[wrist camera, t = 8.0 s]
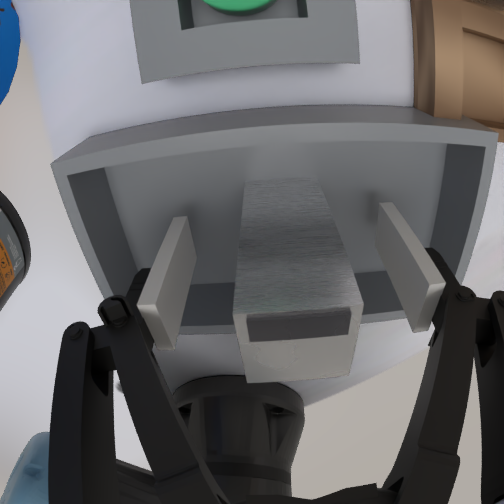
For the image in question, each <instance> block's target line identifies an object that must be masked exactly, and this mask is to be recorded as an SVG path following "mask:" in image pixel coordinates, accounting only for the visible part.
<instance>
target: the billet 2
mask: <svg viewBox="0 0 504 504" xmlns="http://www.w3.org/2000/svg"><path fill="white" fill-rule="evenodd" d="M472 1H475V2H477V3H480V4H483V5H486V6H489V7H491V8H494V9H497V10H499V11H504V0H472Z"/></svg>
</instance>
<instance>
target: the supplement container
mask: <svg viewBox="0 0 504 504" xmlns="http://www.w3.org/2000/svg"><path fill="white" fill-rule="evenodd" d="M30 261H31V249H30V242H29V238H28V235H27V232H26V229H25V227H24V224H23V222H22V220H21V218H20V216H19V214H18V212H17V211H16V209H15V208H14V206H13V205H12V203H11V202H10V201H9V200H8V198H7V197H6V196H5V195H4V194H3V193H2V192H1V191H0V311H1V310H2V308H3V306H4V305H5V304H6V302H7V300H8V299H9V298H10V296H11V295H12V293H13V292H14V290H15V289H16V288H17V286H18V285H19V284H20V283H21V282H22V281H23V279H24V278H25V276H26V274H27V272H28V270H29V266H30Z"/></svg>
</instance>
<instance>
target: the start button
mask: <svg viewBox="0 0 504 504" xmlns="http://www.w3.org/2000/svg"><path fill="white" fill-rule="evenodd" d="M202 1H204V2H205V3H206V4H207V5H208V6H210V7H211V8H212V9H214V10H216V11H218V12H221V13H224V14H227V15H233V16H245V15H251V14H255V13H258V12H261V11H263V10H265V9H267V8H268V7H270V6H271V5H272V4H274V3H275V2H276V1H277V0H202Z"/></svg>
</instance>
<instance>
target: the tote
mask: <svg viewBox="0 0 504 504" xmlns="http://www.w3.org/2000/svg"><path fill="white" fill-rule="evenodd" d="M498 135H499V133H498V132H496V131H494V130H492V129H490V128H488V127H486V126H484V125H482V124H480V123H478V122H476V121H474V120H472V119H470V118H468V117H466V116H464V115H462V116H461V120H457V119H448V118H438V117H433V116H431V115H429V114H427V113H425V112H423V111H420V110H418V109H416V108H414V107H402V106H383V105H302V106H282V107H268V108H255V109H245V110H235V111H226V112H218V113H210V114H203V115H196V116H189V117H183V118H176V119H171V120H165V121H159V122H154V123H149V124H144V125H139V126H134V127H129V128H125V129H120V130H116V131H112V132H108V133H104V134H100V135H96V136H92V137H89V138H87V139H86V140H84V141H83V142H81V143H80V144H78V145H77V146H75V147H74V148H72V149H71V150H69V151H68V152H66V153H65V154H63V155H62V156H61V157H59V158H58V159H56V160H55V161H54V162H52V163H51V164H50V165H51V168H52V171H53V174H54V177H55V180H56V183H57V186H58V189H59V192H60V195H61V198H62V201H63V203H64V206H65V209H66V211H67V214H68V217H69V219H70V222H71V225H72V227H73V230H74V232H75V235H76V237H77V239H78V242H79V244H80V247H81V249H82V251H83V254H84V256H85V258H86V261H87V263H88V265H89V267H90V270H91V272H92V274H93V276H94V278H95V280H96V283H97V285H98V287H99V289H100V291H101V293H102V295H103V297H104V299H106V298H108V297H110V296H113V295H122V296H125V297H126V294H127V292H128V291H129V287H130V285H132V281H133V279H134V276H135V275H136V274H137V273H138V272H139V271H140V270H141V269H142V268H152V266H153V263H154V261H155V259H156V256H157V254H158V252H159V249H160V247H161V245H162V242H163V240H164V238H165V235H166V233H167V231H168V229H169V226H170V224H171V222H172V220H173V218H174V217H182V216H187V217H188V222H189V226H190V230H191V235H192V239H193V243H194V247H195V252H196V256H197V260H196V264H195V268H194V272H193V275H192V279H191V283H190V287H189V291H188V295H187V299H186V304H185V308H184V312H183V316H182V320H181V324H180V329H179V333H178V335H193V334H231V333H236V329H235V324H234V319H233V314H232V313H233V302H234V291H235V280H236V270H237V259H238V248H239V238H240V228H241V218H242V208H243V198H244V188H245V182H247V181H259V180H272V179H286V178H302V177H317V179H318V181H319V184H320V186H321V189H322V191H323V193H324V196H325V198H326V201H327V203H328V206H329V208H330V211H331V214H332V216H333V219H334V221H335V224H336V227H337V229H338V232H339V234H340V237H341V240H342V243H343V245H344V248H345V251H346V254H347V256H348V259H349V262H350V265H351V268H352V270H353V273H354V276H355V279H356V282H357V285H358V288H359V291H360V294H361V297H362V300H363V303H364V306H363V312H362V317H361V322H360V324H364V323H373V322H381V321H389V320H397V319H404V318H407V317H406V314H405V312H404V309H403V307H402V305H401V302H400V300H399V298H398V295H397V293H396V291H395V289H394V286H393V284H392V282H391V280H390V277H389V275H388V273H387V271H386V269H385V267H384V264H383V262H382V260H381V258H380V256H379V254H378V252H377V250H376V248H375V246H374V245H375V238H376V229H377V221H378V212H379V203H385V202H392V203H393V204H394V205H395V207H396V208H397V209H398V211H399V212H400V214H401V215H402V216H403V218H404V219H405V221H406V222H407V223H408V225H409V226H410V228H411V229H412V231H413V232H414V234H415V235H416V237H417V238H418V239H419V241H420V242H421V244H422V245H423V247H424V248H430V247H432V248H433V249H435V250H436V251H437V252H439V253H440V254H441V256H442V257H443V259H444V262H446V263H447V265H448V267H449V268H450V270H451V271H452V273H453V274H454V276H455V277H456V279H457V280H458V282H459V284H460V285H462V282H463V279H464V276H465V274H466V271H467V268H468V265H469V262H470V259H471V256H472V252H473V249H474V246H475V243H476V239H477V236H478V232H479V229H480V225H481V221H482V218H483V214H484V210H485V205H486V201H487V197H488V192H489V188H490V183H491V178H492V173H493V167H494V162H495V155H496V149H497V142H498Z"/></svg>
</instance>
